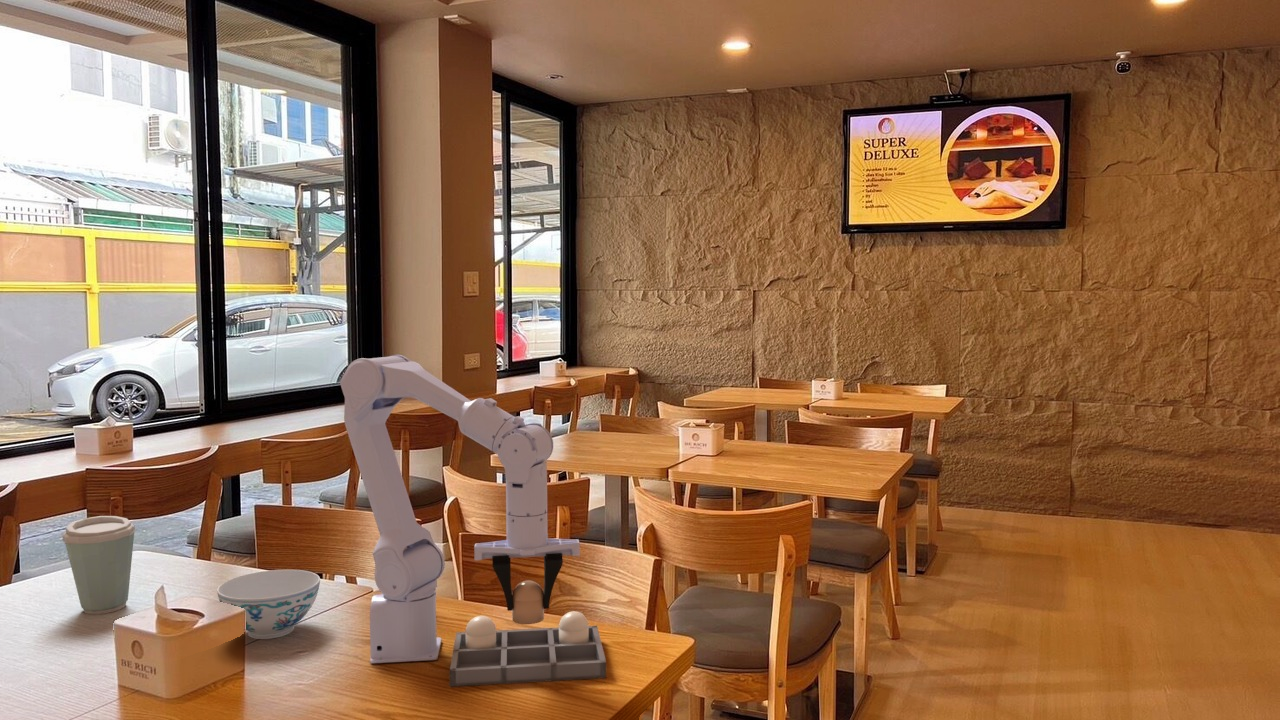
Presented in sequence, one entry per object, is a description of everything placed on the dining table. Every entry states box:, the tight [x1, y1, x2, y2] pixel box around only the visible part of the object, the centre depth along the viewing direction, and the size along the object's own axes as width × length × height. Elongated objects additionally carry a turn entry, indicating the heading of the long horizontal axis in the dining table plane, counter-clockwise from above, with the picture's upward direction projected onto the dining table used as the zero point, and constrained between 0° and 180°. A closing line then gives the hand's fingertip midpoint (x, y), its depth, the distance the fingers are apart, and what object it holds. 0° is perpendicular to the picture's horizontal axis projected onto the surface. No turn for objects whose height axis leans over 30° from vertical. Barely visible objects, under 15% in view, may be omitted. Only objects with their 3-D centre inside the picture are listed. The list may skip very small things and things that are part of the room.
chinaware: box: [216, 569, 321, 640], centre depth 146 cm, size 15×15×8 cm
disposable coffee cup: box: [61, 515, 137, 615], centre depth 156 cm, size 11×11×15 cm
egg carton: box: [449, 610, 607, 688], centre depth 133 cm, size 21×14×6 cm
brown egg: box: [511, 580, 545, 625], centre depth 130 cm, size 4×4×5 cm
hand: (528, 607), depth 130 cm, fingers closed on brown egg, 4 cm apart
